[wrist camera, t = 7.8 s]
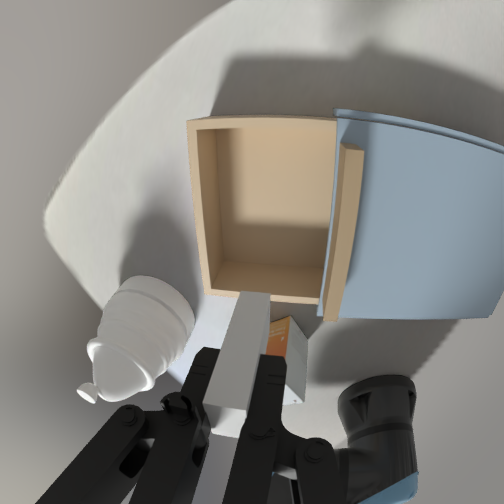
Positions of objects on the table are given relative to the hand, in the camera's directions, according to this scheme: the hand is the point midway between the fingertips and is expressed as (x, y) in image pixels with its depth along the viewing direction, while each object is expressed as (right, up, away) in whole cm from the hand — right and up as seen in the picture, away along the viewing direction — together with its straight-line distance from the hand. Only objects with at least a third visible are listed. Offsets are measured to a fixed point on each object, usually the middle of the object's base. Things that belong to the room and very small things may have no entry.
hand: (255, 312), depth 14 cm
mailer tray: (+7, +8, +13) cm, 17 cm away
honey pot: (-15, -5, +26) cm, 30 cm away
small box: (+3, -8, +24) cm, 26 cm away
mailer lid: (+17, +6, +8) cm, 20 cm away
